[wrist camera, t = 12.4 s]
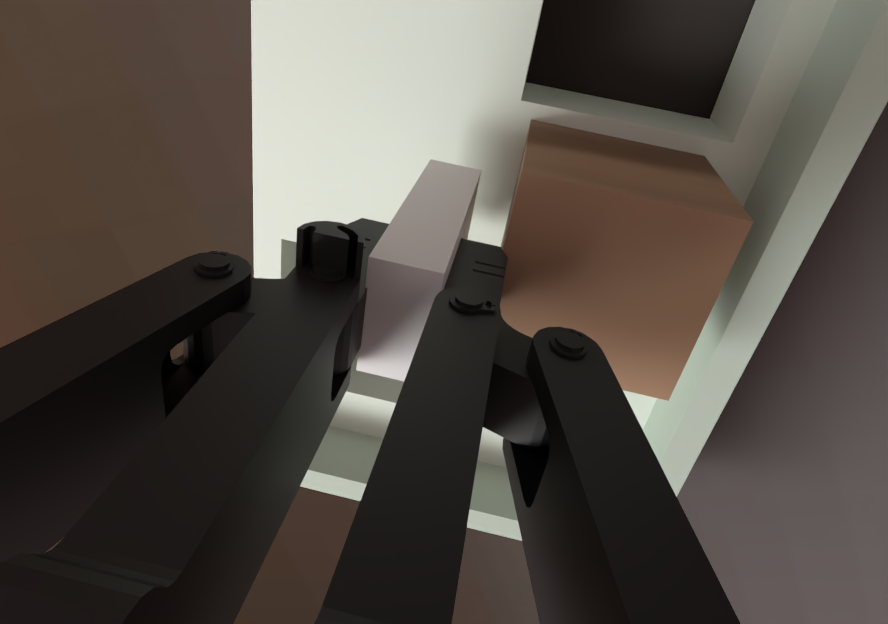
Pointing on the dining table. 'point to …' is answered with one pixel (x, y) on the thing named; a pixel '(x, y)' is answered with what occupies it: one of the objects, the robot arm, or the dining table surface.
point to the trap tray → (499, 156)
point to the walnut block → (619, 248)
